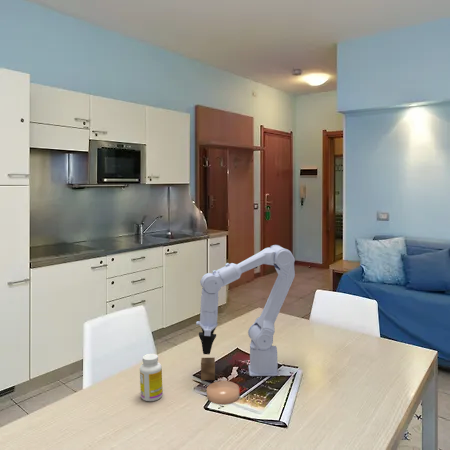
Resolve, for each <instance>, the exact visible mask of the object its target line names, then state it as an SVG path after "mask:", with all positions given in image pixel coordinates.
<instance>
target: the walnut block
mask: <svg viewBox="0 0 450 450" xmlns="http://www.w3.org/2000/svg"><path fill="white" fill-rule="evenodd" d="M200 359H201V360H200V380H201V382H203V380H215V379H216V358H215V357H201V358H200Z"/></svg>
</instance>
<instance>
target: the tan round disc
mask: <svg viewBox="0 0 450 450" xmlns="http://www.w3.org/2000/svg"><path fill="white" fill-rule="evenodd" d="M206 397H207V400H208V401H209V402H211V403H212V404H213V403H214V404H217V405H228V404H232V403H234V402H237V401H238V399H239V398H240V386H239V385H238V384H237V383H235V382H233V381H229V380H218V381H214V382H212V383H210V384H209V385H207V387H206ZM238 397H239V398H238Z"/></svg>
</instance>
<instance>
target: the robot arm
mask: <svg viewBox="0 0 450 450" xmlns="http://www.w3.org/2000/svg"><path fill="white" fill-rule="evenodd" d="M295 260H296V258H295V257H294V255H293V253H292V251H291V250H289V249H287V248H284V247H282V246H281V245H279V244H273V245H270V247H265V248H264V249H262V250H261V251H259V252H256V253H255V254H254V255H251V256H250V257H248V258H246V259H245V260H242V261H241V262H239V263H233V262H231V263H229V262H226V263H225V266H222V267H220V268H218V269H217V270H216V269H214V270H213V269H212V270H211V271H212V272H207V273H205V274H204V275H202V277H201V279H200V281H199V282H200V286H201V287H202V289H201V295H200V296H201V297H200V311H199V312H200V313H199V314H200V315H199V320H198V321H196V322H195V325H196V326H200V329H201V331H202V332H201V331H200V332H198V337H199V339H200V342H201V347H202V353H203V354H202V355H210V354H211V350H212V347H213V343H214V341H215V339H216V337H217V334H216V333H215V331H216V328H217V327H218V311H219V310H218V309H219V292H220V290H221V288H222V287H224V286H227V285H228V284H231V283H233V282H235V281H237V280H239V279H241V276H242V274H243V273H246V272H248V271H250V270H252V269H255V268H257V267H259V266H261V265H268V266H274V269H275V271H276V273H277V277H276V279H275V281H274V283H273V286H272V288H271V290H270V293H269V296H268V297H267V301H266V303H265V305H264V307H263V309H262V311H261V314H260V316H258V317H257V318H256V319H255V321H254V322H253V324H251V326H250V327H248V331H247V334H248V337H249V339H250V340H251V341H250V343H249V364H248V365H247V366H248V374H249V376H250V377H271V376H272V377H274V376H279V374H278V365H279V363H278V348H277V345H273V344H274V334H275V322H276V320H277V318H278V315H279V313H280V311H281V308H282V307H283V304H284V302H285V299H286V298H287V295H288V293H289V290H290V288H291V286H292V283H293V281H294V279H295V277H296V272H295Z"/></svg>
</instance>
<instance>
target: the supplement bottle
mask: <svg viewBox="0 0 450 450" xmlns="http://www.w3.org/2000/svg"><path fill="white" fill-rule="evenodd" d="M162 369H163V367H162V364H161V363H160V362H159V355H158V354H156V353H147V354H144V355H143V356H142V364H141V365H140V366H139V384H140V386H139V388H140V397H141V399H142V400H143V401H145V402H155V401H158V400H159V399H161V398H162V396H163V372H162V371H163V370H162Z"/></svg>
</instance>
